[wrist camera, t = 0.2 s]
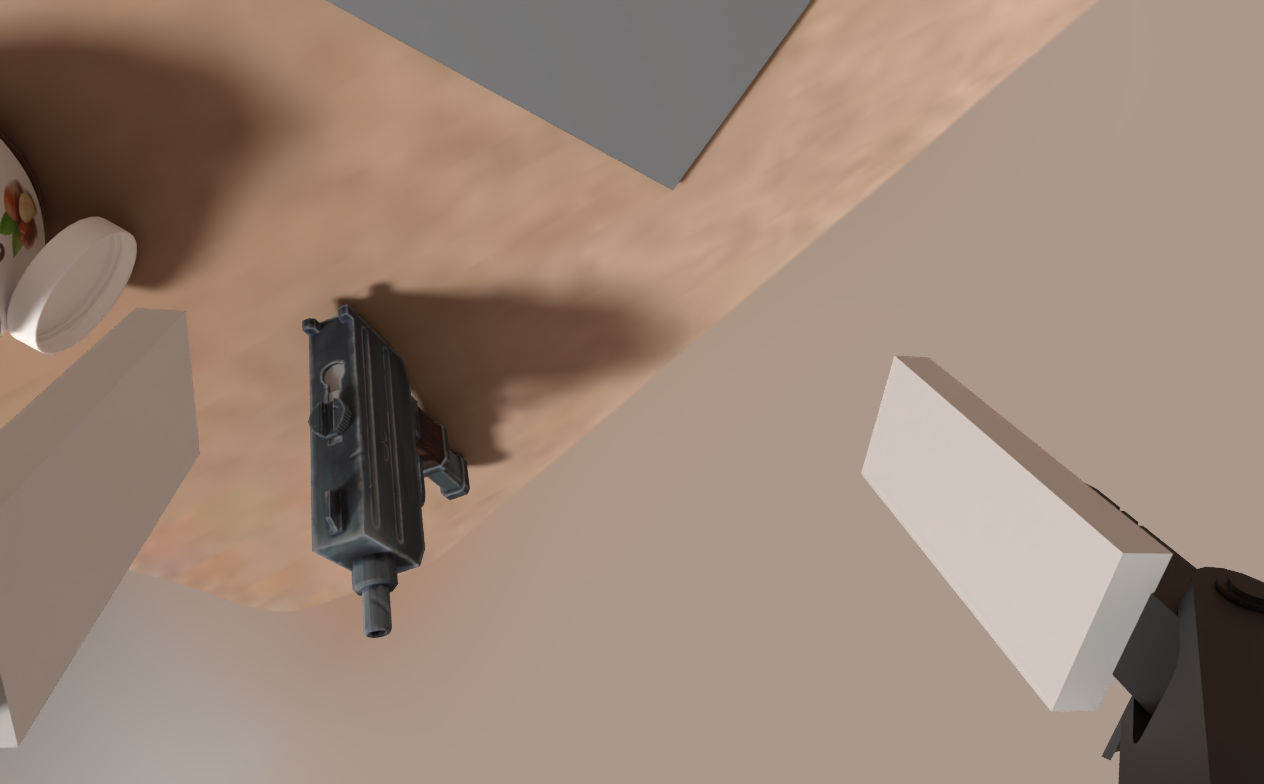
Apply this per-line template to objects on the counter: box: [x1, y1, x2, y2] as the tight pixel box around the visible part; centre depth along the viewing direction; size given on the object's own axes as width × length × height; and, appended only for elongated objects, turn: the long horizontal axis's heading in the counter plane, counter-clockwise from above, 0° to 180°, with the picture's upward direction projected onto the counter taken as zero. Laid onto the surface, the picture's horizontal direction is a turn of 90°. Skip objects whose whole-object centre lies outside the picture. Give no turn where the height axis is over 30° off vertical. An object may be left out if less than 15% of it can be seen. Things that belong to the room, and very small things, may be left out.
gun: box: [302, 304, 470, 638], centre depth 46 cm, size 3×17×15 cm
